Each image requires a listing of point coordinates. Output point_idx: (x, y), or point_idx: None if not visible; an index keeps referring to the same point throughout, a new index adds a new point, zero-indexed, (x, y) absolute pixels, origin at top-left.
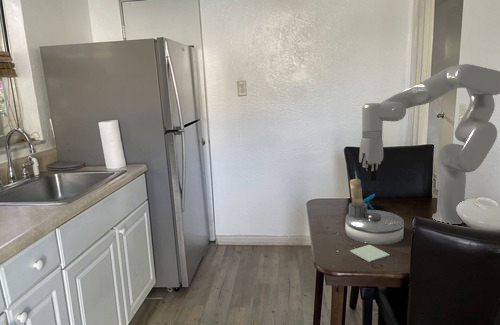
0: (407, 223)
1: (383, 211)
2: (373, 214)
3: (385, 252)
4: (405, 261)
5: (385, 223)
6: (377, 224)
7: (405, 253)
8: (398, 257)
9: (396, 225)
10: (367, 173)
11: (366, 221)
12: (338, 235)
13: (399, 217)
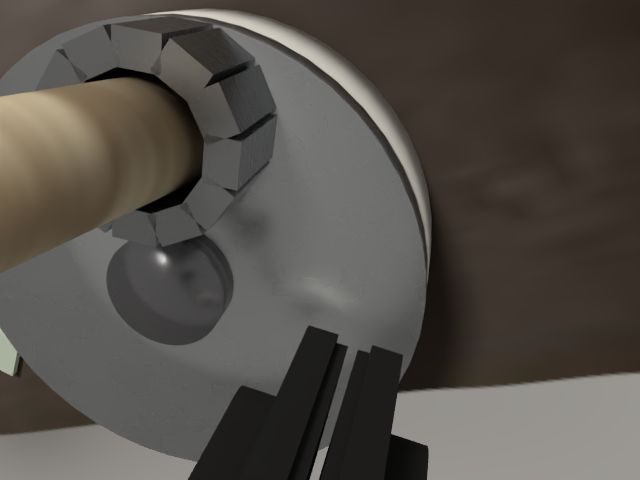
0: (558, 379)
1: (415, 297)
2: (174, 284)
3: (15, 355)
4: (19, 433)
5: (144, 369)
6: (88, 328)
7: (90, 424)
8: (30, 405)
9: (157, 434)
10: (260, 434)
11: (84, 244)
12: (23, 21)
13: (330, 430)
